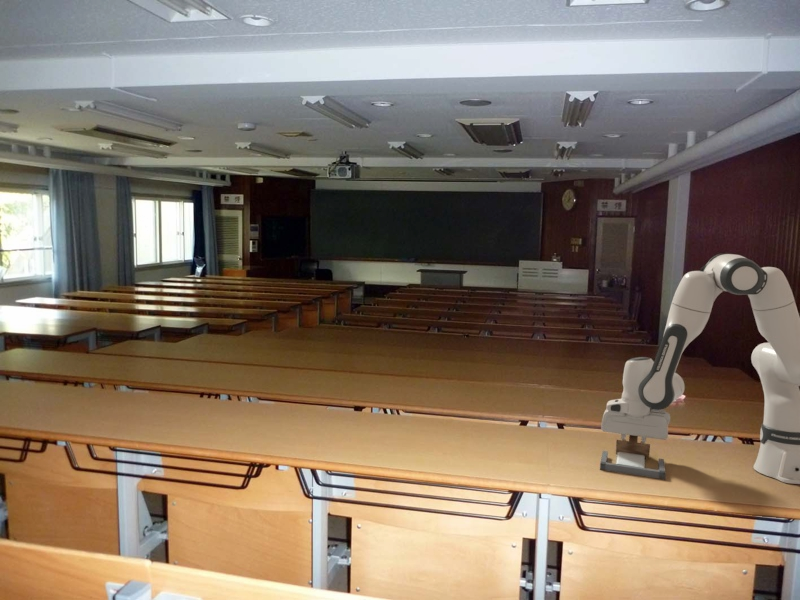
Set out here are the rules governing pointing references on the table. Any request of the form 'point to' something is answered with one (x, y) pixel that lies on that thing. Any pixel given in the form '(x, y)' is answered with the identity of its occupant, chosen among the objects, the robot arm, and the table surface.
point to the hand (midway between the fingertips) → (632, 448)
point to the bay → (633, 468)
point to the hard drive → (630, 459)
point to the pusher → (633, 446)
